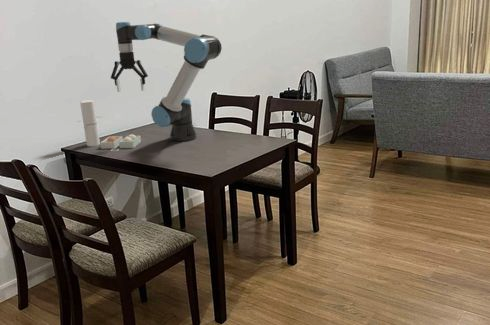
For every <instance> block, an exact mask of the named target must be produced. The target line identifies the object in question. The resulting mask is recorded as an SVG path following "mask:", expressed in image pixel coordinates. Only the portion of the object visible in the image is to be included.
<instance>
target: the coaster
mask: <svg viewBox="0 0 490 325" xmlns="http://www.w3.org/2000/svg"><path fill="white" fill-rule="evenodd" d="M119 150H120V148H117V149H114V148H111V150H110V149H109V152H118V151H119Z"/></svg>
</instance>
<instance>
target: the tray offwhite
mask: <svg viewBox="0 0 490 325" xmlns="http://www.w3.org/2000/svg"><path fill="white" fill-rule="evenodd" d="M112 136H113V135H112ZM109 137H110V136H108V137H106V138H105V139H104V140H101V141H100V149H101V150H104V149H105V150H107V149H109V150H110V149H117V148H118V146H119V142H120V141H121V140H122V139H124V138H123V136H122V135H120V136H119V135H118V136H117V135H115V136H113V137H115V138H116V140H115V141H114V142H107V139H108V138H109ZM119 147H120V146H119Z"/></svg>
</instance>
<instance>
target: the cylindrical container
mask: <svg viewBox="0 0 490 325" xmlns="http://www.w3.org/2000/svg"><path fill="white" fill-rule="evenodd" d="M79 102H80V109H81V117H82V123H83V128H84V130H83V131H84V136H85V141H86V146H87V147H96V146H99V145H100V142H101V140H100V134H99V127H98V120H97V113H96V106H95V101H94V100H93V99H89V100H82V101H79ZM100 146H101V145H100Z"/></svg>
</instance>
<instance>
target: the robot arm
mask: <svg viewBox="0 0 490 325" xmlns="http://www.w3.org/2000/svg"><path fill="white" fill-rule="evenodd" d="M115 23H116V24H115V32H116V38H117V46H118V51H119V53H118V54H119V60H116V61H114V67H113V69H112V73H111V75H110V79H112V80H114V85H115V86H116V88H117V89H116V91H117V92H119V93H120V92H121V90H122V89H121V84H120V79H119V77H120V75H121V74H122V73H123V72H124V70H133V71H134V72H135V73H136V74H137V75H138V76H139V77H140V79H139V81H140V90H141V92H143V91H145V85H146V78H148V77H149V76H148V73H147V71H146V70H145V69H144V66H143V65H142V62H141V60H140V59H139V60H138V59H137V60H135V55H134V54H135V52H133V51H134V47H133V46H134V45H133V41H145V40H149V39H150V40H151V39H153V40H158V41H162V42H165V43H166V42H167V43H171V44H173V45H177V46H181V47H184V48H183V52H184V53H183V59H184V61H183V64H182V65H181V68H180V70H179V71H178V74H177V76H176V78H175V80H174V81H173V83H172V85H171V87H170V88H169V91H168V92H167V95H166V96H163V97H162V98H161V100H160V101H159V104H158V105H155V106H154V107H153V108H152V110H151V118H152V121H153V122H154V124H155V125H156V126H158V127H160V128H165V127H169V126H171V129H170V134H169V139H170V141H172V142H188V141H193V140H195V139H197V136H198V134H197V131H196V128H195V126H194V125H193V114H192V104H191V103H192V102H191V99H190V98H187V97H186V96H187V94H188V93H189V91H190V88H191V86H192V85H193V83H194V81H195V79H196V77H197V76H198V74H199V72H200V70H203V69H205V67H206V66H207V63H208V61H210V60H214V59H217V58H218V57H219V56H220V55H221V52H222V47H223V46H222V43H221V41H220V40H219V38H217V37H216V36H214V35H209V34H208V35H207V34H203V33H202V34H200V35H198V34H197V33H191V32H187V31H183V30H179V29H174V28H172V27H168V26H167V27H166V26H163V25H162V24H160V23H149V24H135V25H132V24H131V23H130V22H129V21H119V22H115ZM135 64H136V65H137V66H135ZM119 66H121V67H120V68H119V69H118V67H119ZM137 67H138V68H139V69H138V68H137ZM117 71H118V72H117Z"/></svg>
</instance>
